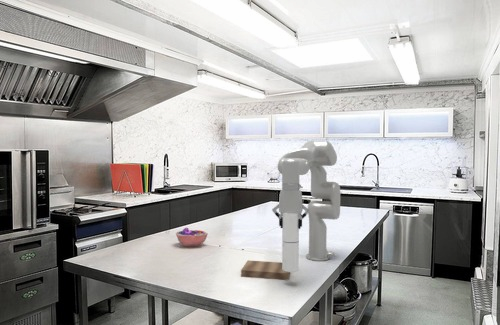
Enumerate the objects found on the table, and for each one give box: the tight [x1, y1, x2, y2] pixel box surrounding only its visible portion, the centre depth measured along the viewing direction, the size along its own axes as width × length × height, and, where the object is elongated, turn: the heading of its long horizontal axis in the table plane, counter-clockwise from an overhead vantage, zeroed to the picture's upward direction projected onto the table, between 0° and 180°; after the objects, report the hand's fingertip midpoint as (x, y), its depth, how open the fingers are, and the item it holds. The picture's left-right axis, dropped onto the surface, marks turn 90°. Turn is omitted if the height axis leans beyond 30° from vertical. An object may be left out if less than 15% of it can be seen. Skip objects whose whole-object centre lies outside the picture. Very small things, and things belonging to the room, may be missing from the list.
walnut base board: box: [240, 260, 291, 281], centre depth 171 cm, size 22×16×3 cm
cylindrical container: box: [281, 213, 300, 273], centre depth 155 cm, size 7×7×25 cm
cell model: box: [175, 227, 209, 247], centre depth 221 cm, size 17×20×11 cm
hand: (290, 227), depth 155 cm, fingers closed on cylindrical container, 7 cm apart
